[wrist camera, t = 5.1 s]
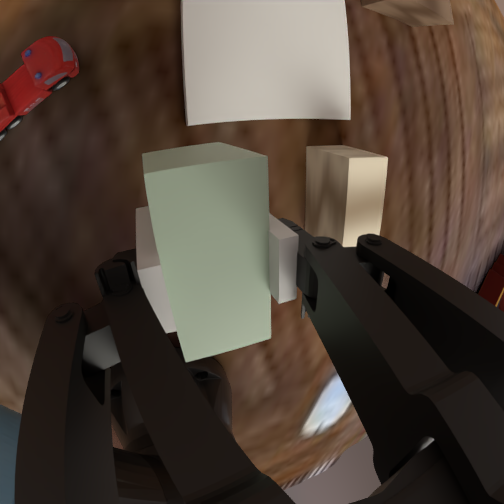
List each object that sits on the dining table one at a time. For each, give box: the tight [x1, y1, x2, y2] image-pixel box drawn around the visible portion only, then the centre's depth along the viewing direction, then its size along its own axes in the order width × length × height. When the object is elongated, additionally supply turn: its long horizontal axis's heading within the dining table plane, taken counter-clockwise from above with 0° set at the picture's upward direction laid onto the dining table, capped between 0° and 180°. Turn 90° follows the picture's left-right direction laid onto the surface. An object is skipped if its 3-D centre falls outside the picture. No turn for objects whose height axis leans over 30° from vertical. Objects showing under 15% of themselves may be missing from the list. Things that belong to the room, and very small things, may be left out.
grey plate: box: [181, 0, 351, 126], centre depth 18 cm, size 15×14×1 cm
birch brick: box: [305, 145, 388, 247], centre depth 24 cm, size 8×4×6 cm, turn 2°
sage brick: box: [142, 142, 271, 362], centre depth 13 cm, size 8×4×6 cm, turn 2°
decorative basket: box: [478, 254, 504, 312], centre depth 56 cm, size 34×29×15 cm
